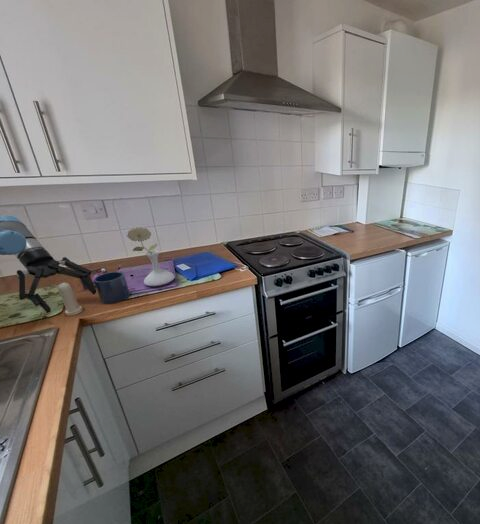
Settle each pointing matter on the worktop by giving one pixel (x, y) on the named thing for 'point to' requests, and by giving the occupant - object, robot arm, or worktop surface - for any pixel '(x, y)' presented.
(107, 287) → the cup
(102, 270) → the purple printed box
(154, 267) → the flower in vase
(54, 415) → the worktop surface
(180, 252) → the worktop surface
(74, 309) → the game piece
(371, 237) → the worktop surface
